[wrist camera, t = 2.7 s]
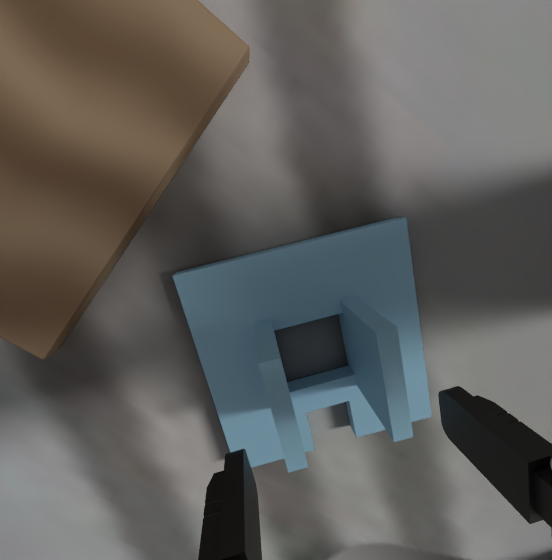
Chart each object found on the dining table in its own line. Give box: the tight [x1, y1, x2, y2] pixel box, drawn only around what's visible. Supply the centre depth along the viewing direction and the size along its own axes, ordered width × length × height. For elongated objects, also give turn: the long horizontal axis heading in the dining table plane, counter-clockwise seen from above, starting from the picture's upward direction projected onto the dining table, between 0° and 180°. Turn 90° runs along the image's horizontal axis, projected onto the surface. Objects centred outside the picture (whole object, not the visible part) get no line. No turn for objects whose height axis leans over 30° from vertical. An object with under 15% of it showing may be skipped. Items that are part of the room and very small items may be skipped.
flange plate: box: [173, 217, 432, 473], centre depth 17 cm, size 14×14×6 cm
